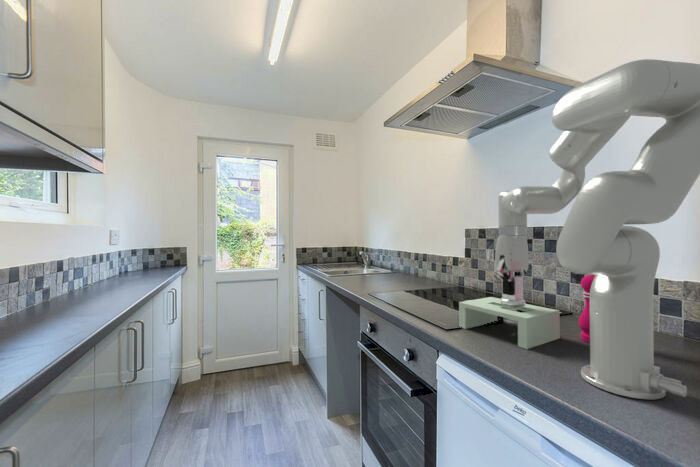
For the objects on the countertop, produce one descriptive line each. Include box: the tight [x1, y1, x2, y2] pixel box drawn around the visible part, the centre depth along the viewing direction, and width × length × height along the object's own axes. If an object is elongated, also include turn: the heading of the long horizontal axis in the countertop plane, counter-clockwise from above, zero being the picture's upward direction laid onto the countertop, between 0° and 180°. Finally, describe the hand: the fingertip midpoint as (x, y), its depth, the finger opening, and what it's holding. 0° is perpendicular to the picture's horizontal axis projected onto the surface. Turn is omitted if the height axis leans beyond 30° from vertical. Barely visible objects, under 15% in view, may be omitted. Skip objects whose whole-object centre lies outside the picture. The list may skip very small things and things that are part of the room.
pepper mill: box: [578, 274, 596, 344], centre depth 85 cm, size 7×7×20 cm
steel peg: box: [500, 274, 526, 326], centre depth 91 cm, size 6×6×14 cm
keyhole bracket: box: [458, 296, 561, 350], centre depth 93 cm, size 22×16×8 cm
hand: (513, 293), depth 91 cm, fingers closed on steel peg, 4 cm apart
